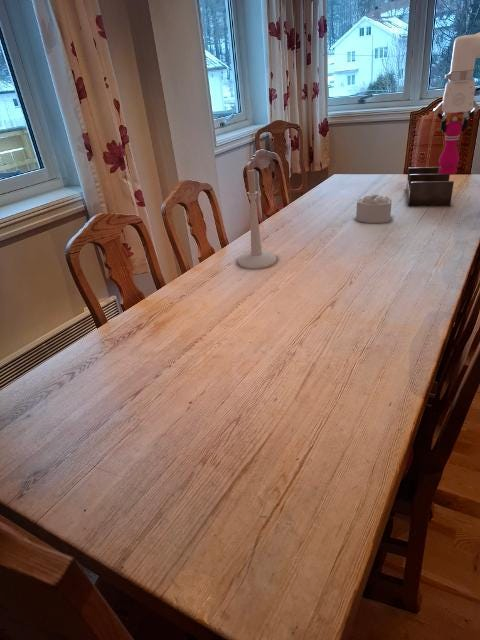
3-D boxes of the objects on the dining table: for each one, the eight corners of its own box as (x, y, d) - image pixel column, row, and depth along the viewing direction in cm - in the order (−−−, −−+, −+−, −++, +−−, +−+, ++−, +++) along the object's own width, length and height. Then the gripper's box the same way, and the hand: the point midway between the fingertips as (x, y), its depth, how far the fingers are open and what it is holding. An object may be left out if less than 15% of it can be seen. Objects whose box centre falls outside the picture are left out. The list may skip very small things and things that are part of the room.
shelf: (442, 188, 200) (446, 166, 195) (449, 206, 177) (453, 181, 172) (406, 189, 204) (408, 167, 199) (408, 206, 181) (411, 182, 176)
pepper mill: (435, 174, 168) (442, 118, 158) (439, 170, 173) (446, 115, 163) (455, 174, 164) (464, 117, 154) (458, 170, 169) (467, 114, 159)
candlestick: (271, 251, 151) (266, 162, 135) (280, 265, 140) (276, 170, 124) (235, 256, 149) (226, 167, 134) (241, 271, 138) (233, 175, 123)
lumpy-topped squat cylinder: (389, 223, 165) (391, 200, 161) (355, 222, 169) (356, 200, 165) (389, 214, 174) (391, 193, 170) (356, 214, 178) (357, 193, 173)
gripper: (435, 79, 151) (429, 134, 160) (490, 74, 146) (480, 131, 155) (433, 78, 157) (427, 131, 166) (486, 73, 152) (476, 128, 161)
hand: (453, 131), depth 161 cm, fingers closed on pepper mill, 6 cm apart
